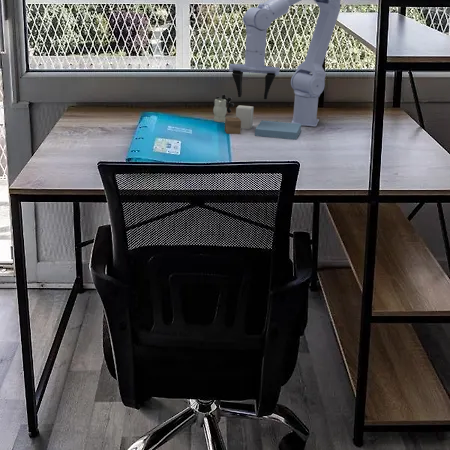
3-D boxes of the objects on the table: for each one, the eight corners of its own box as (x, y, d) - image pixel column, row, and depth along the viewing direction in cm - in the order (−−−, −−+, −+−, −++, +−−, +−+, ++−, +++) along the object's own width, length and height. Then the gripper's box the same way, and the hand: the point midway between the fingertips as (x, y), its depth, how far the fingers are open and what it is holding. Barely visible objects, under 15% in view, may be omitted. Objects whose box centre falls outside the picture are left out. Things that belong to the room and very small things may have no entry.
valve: (229, 123, 253) (233, 115, 265) (230, 101, 251) (234, 94, 262) (208, 121, 254) (212, 113, 265) (208, 100, 252) (213, 93, 263)
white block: (237, 124, 251) (238, 105, 249) (252, 126, 251) (253, 106, 249) (235, 128, 247) (236, 108, 245) (250, 129, 246) (251, 109, 244)
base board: (261, 126, 250) (261, 120, 249) (300, 130, 248) (301, 123, 247) (254, 135, 239) (255, 129, 238) (296, 139, 237) (296, 132, 236)
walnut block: (224, 130, 243) (225, 117, 242) (238, 130, 244) (238, 117, 243) (226, 134, 240) (227, 120, 238) (240, 134, 240) (241, 120, 239)
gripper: (228, 50, 236) (225, 98, 240) (278, 54, 234) (275, 102, 238) (232, 47, 242) (230, 93, 247) (281, 51, 240) (278, 97, 245)
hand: (252, 97), depth 243 cm, fingers open, 7 cm apart
